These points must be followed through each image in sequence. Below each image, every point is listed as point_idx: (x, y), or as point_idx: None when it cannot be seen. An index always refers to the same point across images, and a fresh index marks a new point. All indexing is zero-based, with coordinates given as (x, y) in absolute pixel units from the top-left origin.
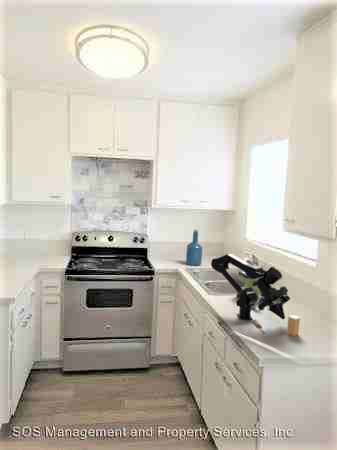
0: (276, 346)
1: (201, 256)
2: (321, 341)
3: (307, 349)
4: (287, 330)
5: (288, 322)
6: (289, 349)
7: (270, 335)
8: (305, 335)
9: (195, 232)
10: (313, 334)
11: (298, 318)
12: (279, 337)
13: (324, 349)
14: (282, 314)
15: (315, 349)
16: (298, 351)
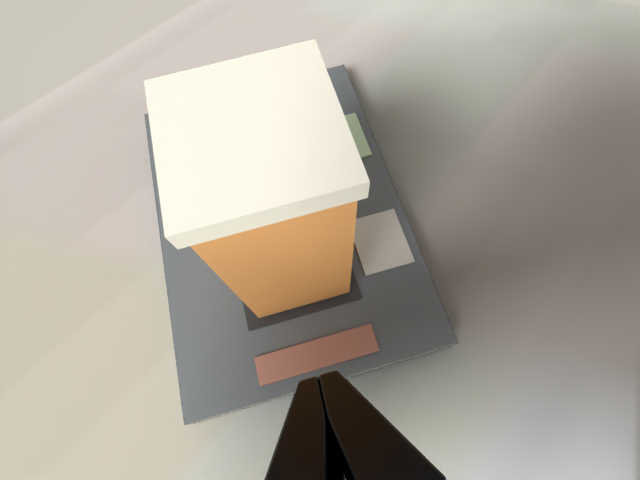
0: (608, 134)
1: None
2: (111, 127)
3: (361, 49)
4: (349, 277)
5: (350, 232)
6: (515, 73)
7: (541, 365)
8: (127, 263)
9: None
10: (20, 263)
11: (217, 73)
12: (459, 289)
13: (228, 28)
14: (362, 423)
15: (297, 39)
16: (459, 39)
